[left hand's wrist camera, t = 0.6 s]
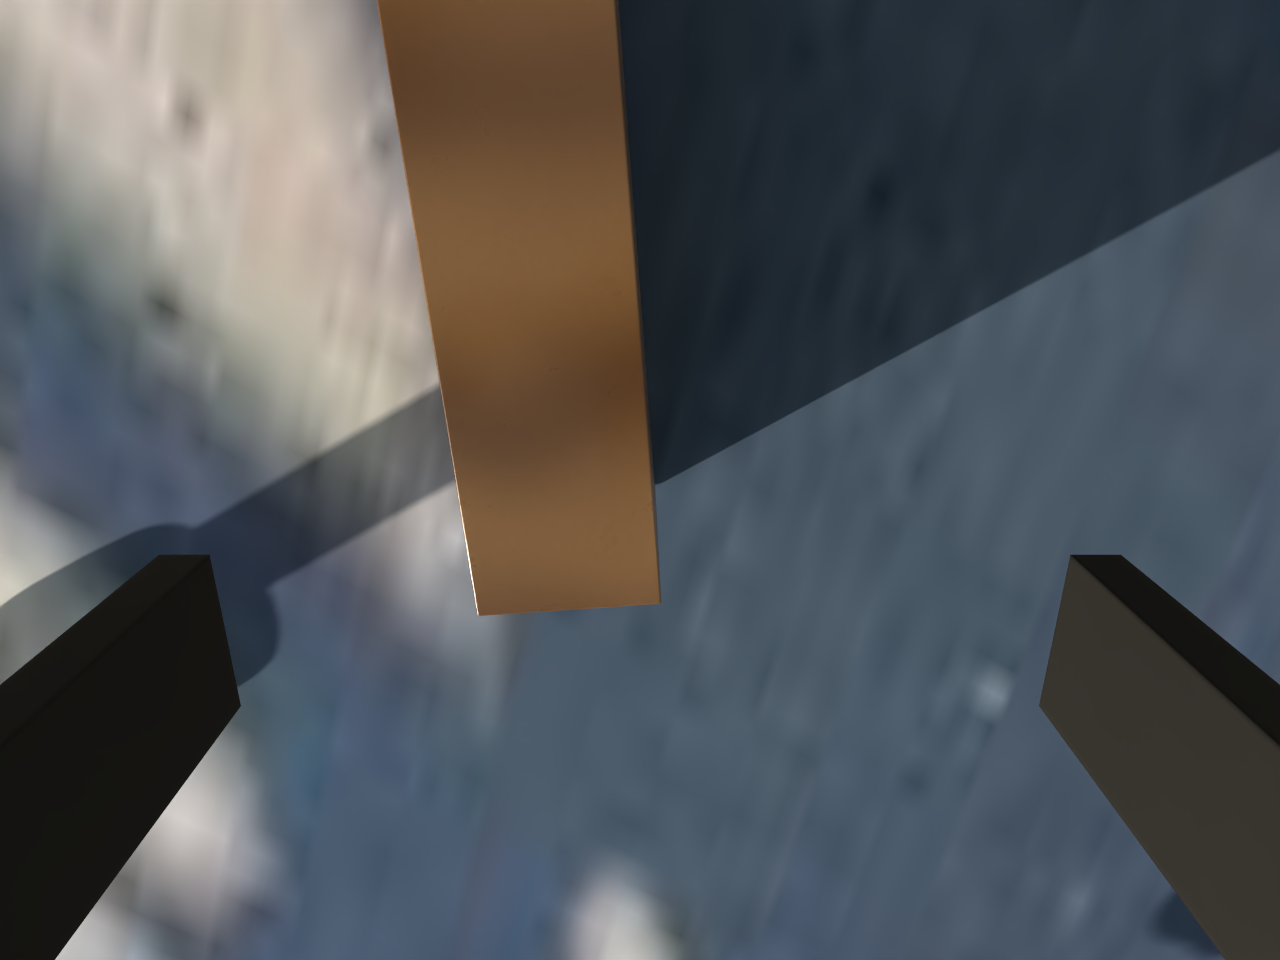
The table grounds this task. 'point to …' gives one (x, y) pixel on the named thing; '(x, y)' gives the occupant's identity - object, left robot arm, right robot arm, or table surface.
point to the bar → (532, 291)
